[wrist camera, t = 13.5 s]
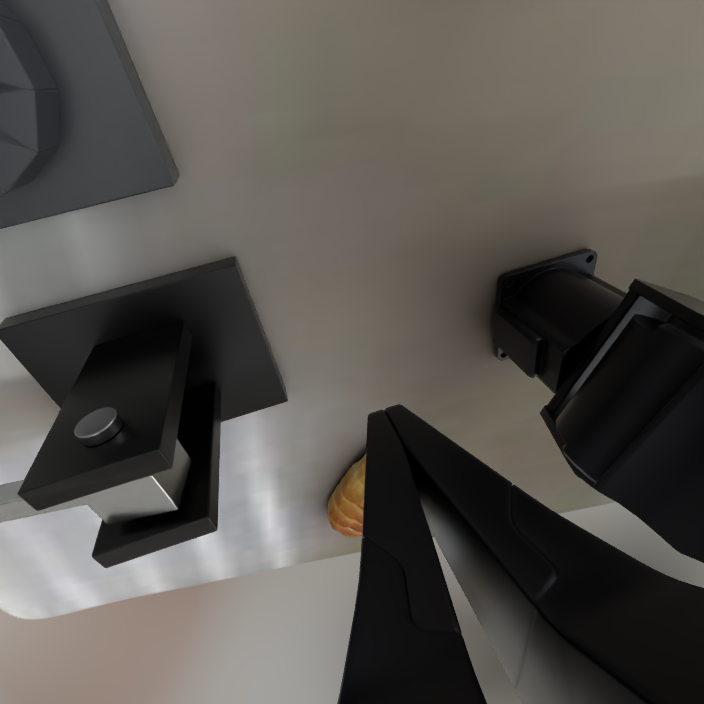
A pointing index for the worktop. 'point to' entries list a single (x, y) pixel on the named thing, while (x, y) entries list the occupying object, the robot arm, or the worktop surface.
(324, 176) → the worktop surface
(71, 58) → the switch
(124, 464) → the tap bracket
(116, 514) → the tap lever
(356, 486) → the pastry
